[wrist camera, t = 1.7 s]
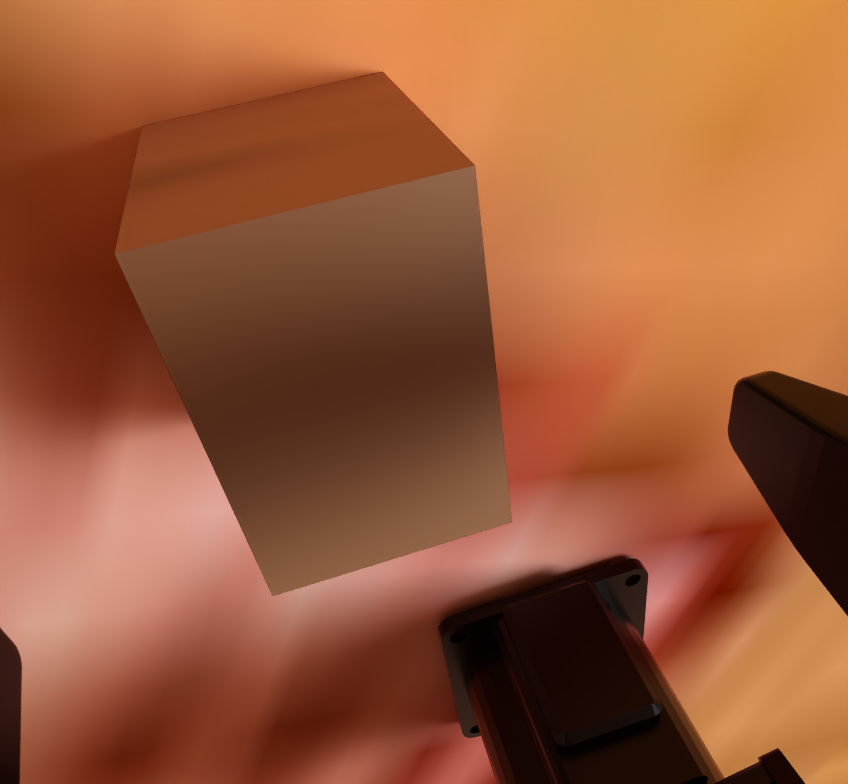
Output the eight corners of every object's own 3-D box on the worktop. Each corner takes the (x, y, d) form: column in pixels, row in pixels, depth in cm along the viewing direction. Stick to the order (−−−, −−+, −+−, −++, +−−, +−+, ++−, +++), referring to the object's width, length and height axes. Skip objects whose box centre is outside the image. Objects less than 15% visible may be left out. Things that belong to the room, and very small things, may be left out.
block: (432, 359, 15) (512, 522, 12) (252, 409, 15) (272, 596, 11) (381, 70, 12) (474, 165, 8) (142, 124, 11) (114, 254, 7)
